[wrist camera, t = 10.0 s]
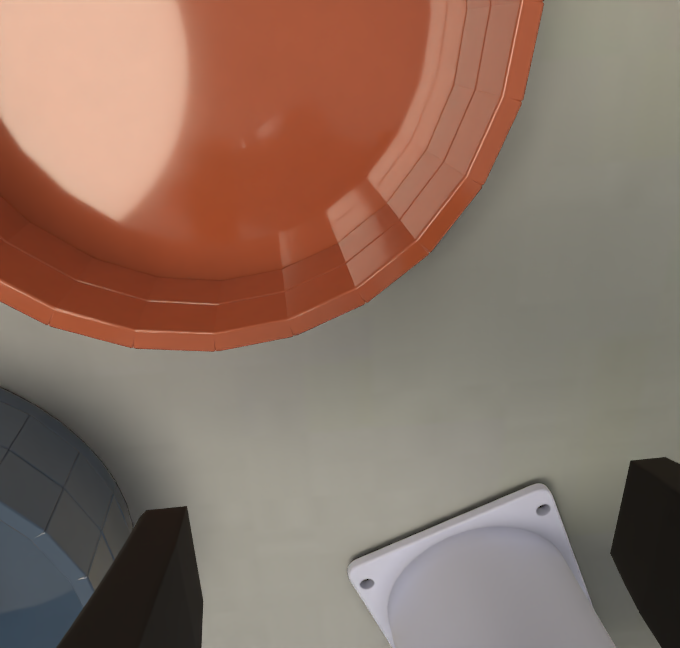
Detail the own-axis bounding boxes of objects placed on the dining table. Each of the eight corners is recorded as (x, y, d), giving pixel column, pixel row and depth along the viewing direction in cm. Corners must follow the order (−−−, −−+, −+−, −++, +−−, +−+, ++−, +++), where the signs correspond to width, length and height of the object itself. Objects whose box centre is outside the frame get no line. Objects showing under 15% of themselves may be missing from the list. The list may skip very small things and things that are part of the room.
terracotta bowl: (540, 159, 17) (614, 191, 14) (103, 362, 18) (65, 441, 15) (341, -549, 11) (381, -828, 8) (-297, -186, 12) (-528, -280, 9)
